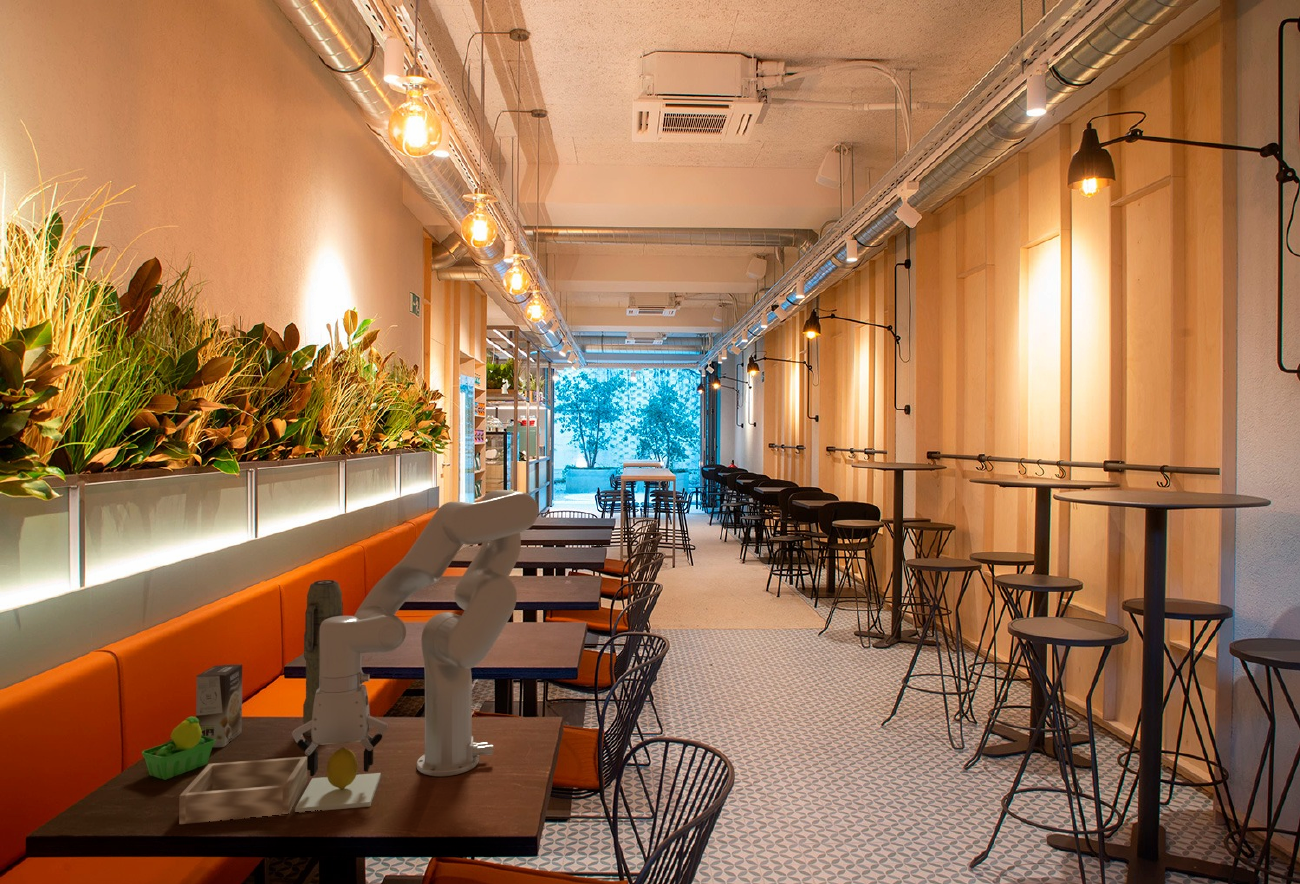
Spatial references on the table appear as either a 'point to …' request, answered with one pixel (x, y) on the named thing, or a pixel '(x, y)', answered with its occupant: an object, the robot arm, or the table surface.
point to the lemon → (342, 768)
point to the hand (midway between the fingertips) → (340, 771)
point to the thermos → (317, 635)
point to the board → (338, 794)
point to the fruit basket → (179, 751)
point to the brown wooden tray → (243, 790)
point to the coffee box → (220, 703)
